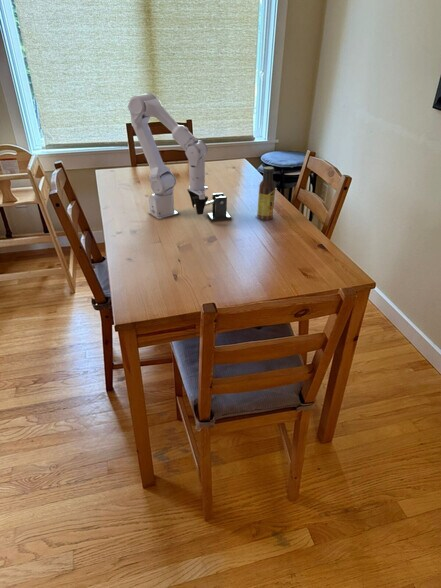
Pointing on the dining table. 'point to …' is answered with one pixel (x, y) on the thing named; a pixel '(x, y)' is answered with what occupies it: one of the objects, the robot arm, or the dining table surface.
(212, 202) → the tap lever
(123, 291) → the dining table surface
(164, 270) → the dining table surface
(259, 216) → the sauce bottle
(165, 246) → the dining table surface
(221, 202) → the dark grey lever bracket
